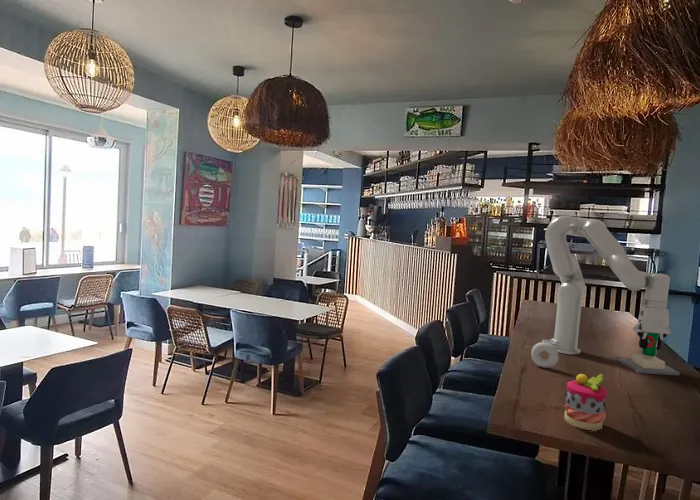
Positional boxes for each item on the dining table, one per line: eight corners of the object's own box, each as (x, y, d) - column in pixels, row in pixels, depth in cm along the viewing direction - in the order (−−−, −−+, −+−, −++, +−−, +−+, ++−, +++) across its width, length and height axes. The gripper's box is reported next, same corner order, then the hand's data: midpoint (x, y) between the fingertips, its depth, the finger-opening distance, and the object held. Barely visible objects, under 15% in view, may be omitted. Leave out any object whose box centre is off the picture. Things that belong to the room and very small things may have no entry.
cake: (569, 429, 126) (574, 377, 125) (558, 412, 137) (563, 364, 135) (609, 434, 125) (615, 381, 123) (595, 417, 135) (600, 368, 134)
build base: (637, 372, 177) (639, 362, 177) (617, 360, 191) (619, 351, 191) (679, 375, 177) (680, 365, 177) (656, 363, 191) (657, 353, 191)
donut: (558, 369, 176) (560, 344, 175) (556, 371, 173) (558, 346, 172) (531, 363, 182) (533, 338, 181) (529, 365, 179) (531, 340, 178)
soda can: (658, 357, 181) (662, 328, 180) (644, 356, 182) (648, 326, 181) (652, 353, 186) (656, 325, 185) (639, 352, 187) (642, 323, 186)
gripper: (639, 304, 178) (633, 349, 180) (683, 307, 178) (677, 352, 180) (628, 300, 186) (622, 344, 187) (670, 303, 185) (664, 347, 187)
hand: (649, 348), depth 183 cm, fingers closed on soda can, 5 cm apart
